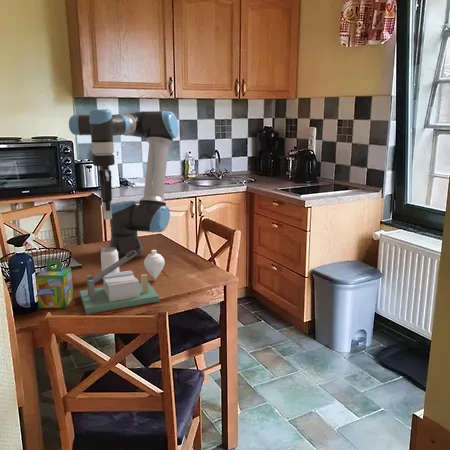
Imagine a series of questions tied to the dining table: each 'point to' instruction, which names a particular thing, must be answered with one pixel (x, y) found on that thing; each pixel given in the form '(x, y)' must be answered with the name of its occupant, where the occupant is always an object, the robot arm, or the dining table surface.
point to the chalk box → (54, 286)
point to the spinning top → (154, 263)
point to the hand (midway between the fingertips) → (108, 218)
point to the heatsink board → (115, 304)
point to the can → (109, 258)
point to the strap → (114, 265)
